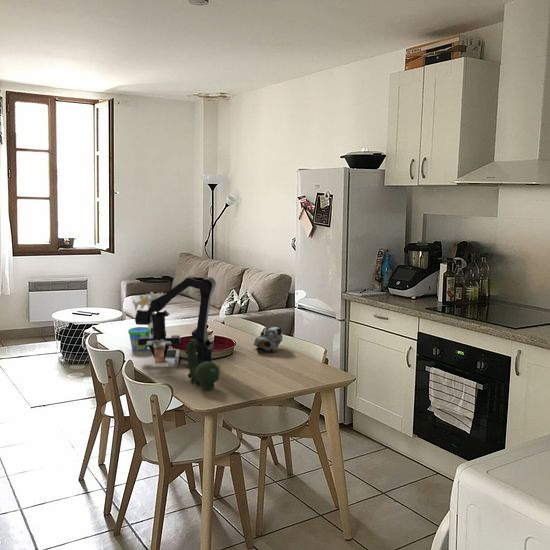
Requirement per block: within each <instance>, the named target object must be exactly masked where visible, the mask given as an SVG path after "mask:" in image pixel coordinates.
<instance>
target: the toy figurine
mask: <svg viewBox="0 0 550 550" xmlns="http://www.w3.org/2000/svg"><path fill="white" fill-rule="evenodd" d="M195 345H196V346H198V341H197V340H196V339H192V338H191V339H190V341H189V342H188V343H187V344H186V345H185V348H186V350H185V351H184V353H185V354H186V355H187V356H186V357H185V359H184V360H185V361H187V364H186V366H185V367H186V369H187V370H188V372H189V373H187V377H188V379H190V383H191V382H192V383H191V384H194V385H195V386H199V385H203V387H204V389H205V390H206V389H210V390H213V389H214V388H215V383H216V382H217V381H219V380H220V369H219V367H218V365H217V364H216V363H214V362H213V361H212V362H210V361H205V362H202V363H201V364H199V363H198V361H197V356H196V353H197V351H196V348H195Z"/></svg>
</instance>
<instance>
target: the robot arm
mask: <svg viewBox="0 0 550 550" xmlns="http://www.w3.org/2000/svg"><path fill="white" fill-rule="evenodd" d="M216 284H217V283H216V280H215V278H213V277H211V276H207V277H198V276H197V277H196V276H191V275H189V276H187V277H185V278H184V279H183V280H182V281H181V282H179V283H178V284H177V285H176V286H174V287H173V288H171V289H170V290H169V291H167V292H166V293H165V294H164V293H163V295H162V296H160V297H158V298H156V299H154V300H153V301H152V302H151V303H149V304H150V308H149V309H148V308H147V310H145V309H137V310H136V314H135V318H134V321H135V324H136V325H138V326H140V325H141V326H143V325H144V326H148V325H149V324H150V323H152V325H153V328H151V335H153V338H148V336H140V337H139V339H138V345H145V344H146V343H147V345H146V346H147V347H148V348H149V351H151V354H152V356H153V357H154V358H155V343H165V344H164V346H165V350H164V358H165V357H166V353H167V350H168V349H169V348H170V347H172V345H180V344H181V336H180V335H179V334H177V335H176V334H175V335H171V336H170V337H167V330H166V317H169V316H170V313H169V312H168V311H167V310H166V309H165V308H166V307H167V306H169V304H170V302H171V301H172V300H173V299H175V298H176V297H177V296H179V295H180V294H181V293H183V291H185V290H186V289H188V288H195V289H198V290H199V294H200V303H199V309H198V318H197V326H196V328H195V329H194V330H193V331H192V332H191V339H196V340H197V341H198V346H196V345H195V349H196V356H197V361H198V363H199V364H201V363H202V362H205V361H210V362H213V361H212V347H213V342H211V340H210V339H208V337H209V336H208V335H209V333H208V329H207V326H208V321H209V312H210V305H211V298H212V295H213V293H214V291H215V288H216ZM164 309H165V310H164ZM162 310H163V311H162ZM153 312H155V313H153Z"/></svg>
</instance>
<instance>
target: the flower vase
mask: <svg viewBox="0 0 550 550" xmlns="http://www.w3.org/2000/svg"><path fill="white" fill-rule="evenodd" d="M162 295H164V293H163V291H161V293H160V292H157V293H156V294H155V293H154V292H152V291H150V292H149V293H146V294H145V297H144V296H143V294H141V295H139V299H140V300H138V301H136V300H135V299H134V298H133V297H131V300H132V304H133V305H134V311H135V312H137V310H138V306H140V310H144V307H145V306H147V310H148V309H149V308H150V303H151V302H152V301H153V300H154V299H156V298H158V297H160V296H162ZM153 313H156V312H153ZM147 328H150V331H151V328H153V325H152V323H150V324H149V325H147ZM149 338H153V335H151V332H150V334H149Z"/></svg>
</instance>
